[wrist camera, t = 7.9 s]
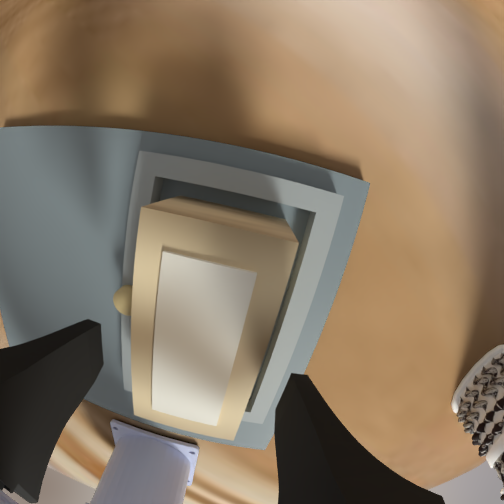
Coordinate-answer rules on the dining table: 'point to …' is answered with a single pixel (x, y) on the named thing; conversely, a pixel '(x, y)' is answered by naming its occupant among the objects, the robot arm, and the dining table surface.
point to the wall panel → (125, 237)
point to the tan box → (204, 310)
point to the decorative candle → (484, 407)
